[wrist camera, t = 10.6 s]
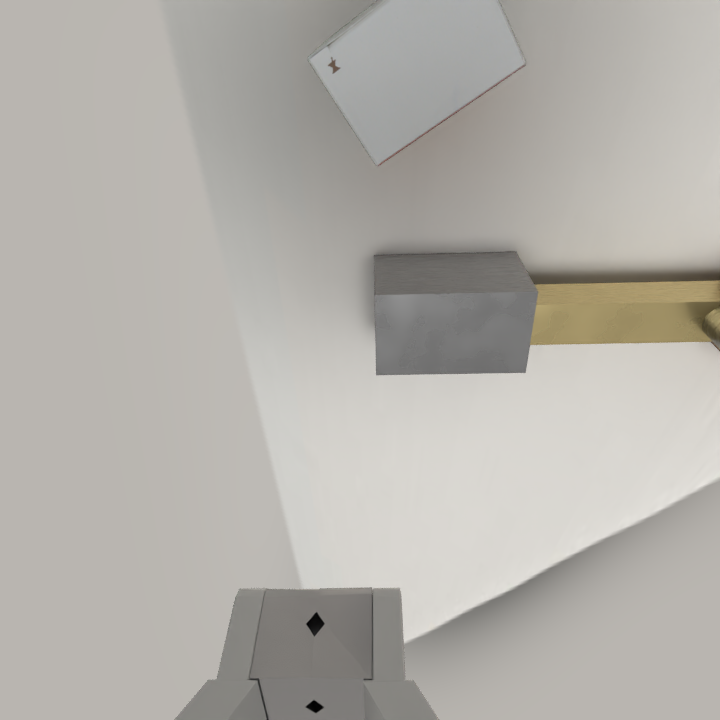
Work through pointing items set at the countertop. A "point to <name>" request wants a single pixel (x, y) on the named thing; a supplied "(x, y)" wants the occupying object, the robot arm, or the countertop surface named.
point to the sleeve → (452, 313)
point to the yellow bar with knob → (627, 313)
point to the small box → (414, 66)
